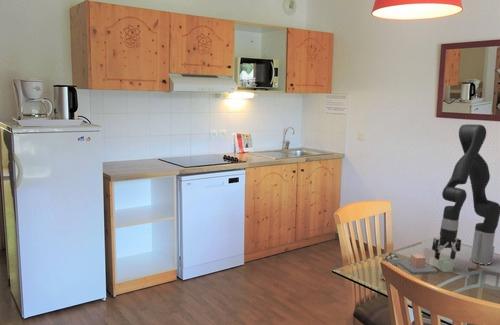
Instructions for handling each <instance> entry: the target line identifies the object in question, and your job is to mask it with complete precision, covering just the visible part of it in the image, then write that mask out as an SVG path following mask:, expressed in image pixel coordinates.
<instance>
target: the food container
mask: <svg viewBox="0 0 500 325" xmlns="http://www.w3.org/2000/svg"><path fill="white" fill-rule="evenodd" d="M382 261H386V262H389V263H391V264H392V265H394V266H396V267H397V268H398V265H399V264H398V263H399V262H400V261H401V260H400V258H399V255H398V254H397V253H395V252H391V251H389V252H388V255H386V256H385V258H382ZM381 276H382V274H381ZM382 277H383V276H382Z"/></svg>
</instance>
